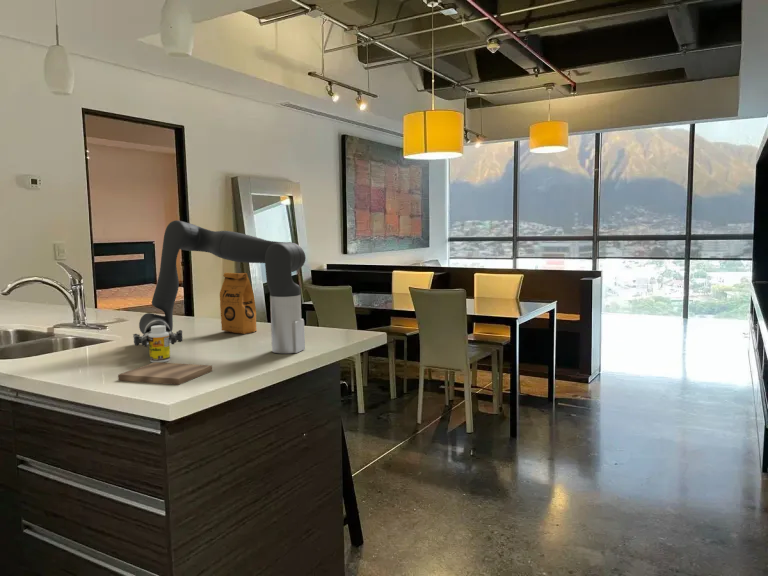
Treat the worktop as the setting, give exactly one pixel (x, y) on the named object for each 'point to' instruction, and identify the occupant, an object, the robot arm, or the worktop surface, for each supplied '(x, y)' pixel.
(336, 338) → the worktop surface
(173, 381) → the walnut board
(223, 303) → the coffee package
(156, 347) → the supplement bottle
